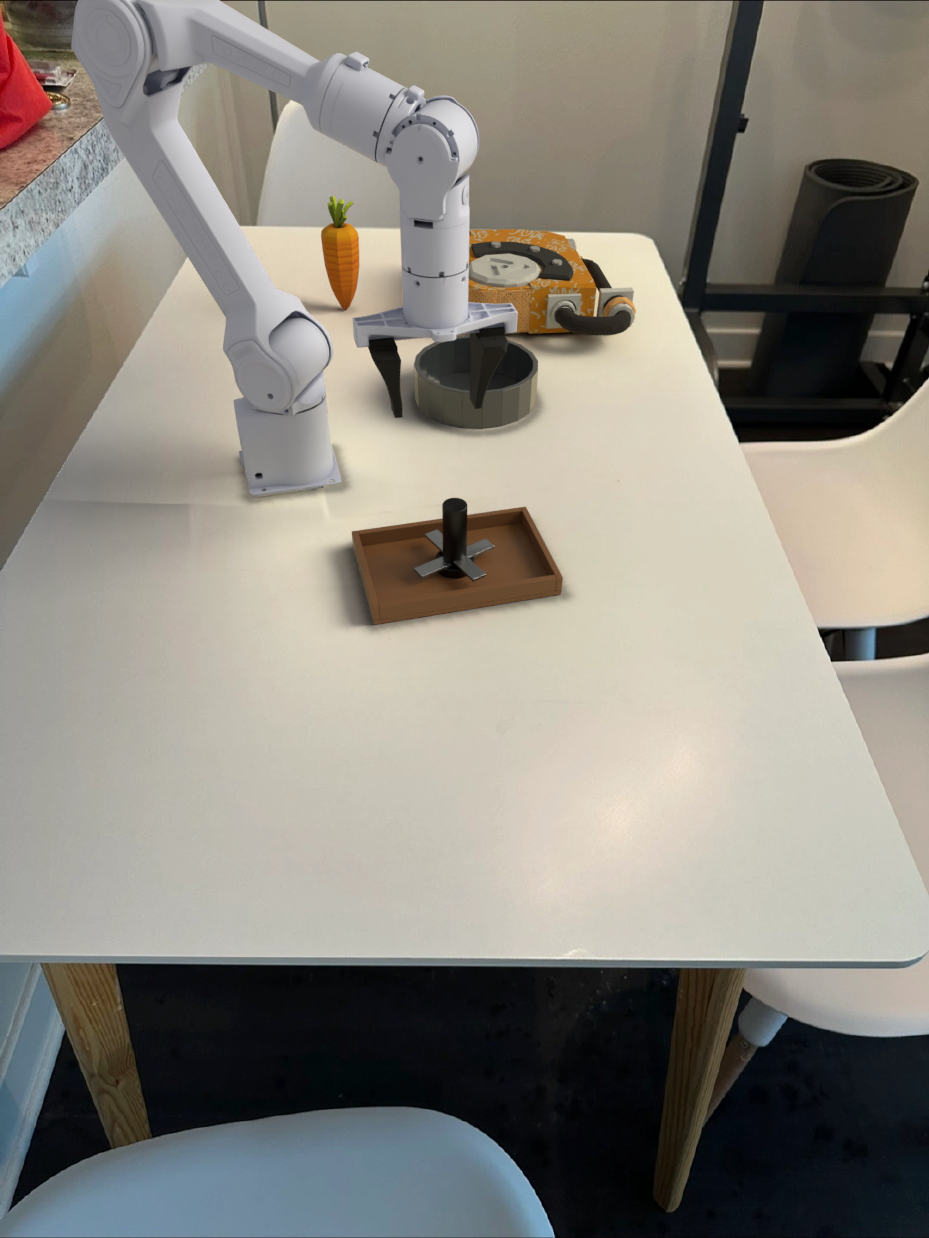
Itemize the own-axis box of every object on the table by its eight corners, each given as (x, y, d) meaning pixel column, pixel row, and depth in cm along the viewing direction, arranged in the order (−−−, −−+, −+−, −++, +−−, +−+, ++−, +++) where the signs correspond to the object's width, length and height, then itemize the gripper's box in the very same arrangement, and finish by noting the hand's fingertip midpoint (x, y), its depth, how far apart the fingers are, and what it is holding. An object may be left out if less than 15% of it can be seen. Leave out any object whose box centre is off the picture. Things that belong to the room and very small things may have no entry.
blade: (421, 600, 81) (420, 537, 76) (403, 547, 87) (401, 485, 82) (508, 587, 82) (511, 524, 78) (484, 535, 88) (486, 474, 83)
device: (594, 212, 133) (649, 295, 111) (588, 268, 139) (640, 359, 117) (439, 216, 131) (465, 303, 109) (440, 274, 136) (464, 367, 114)
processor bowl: (430, 440, 102) (429, 399, 98) (404, 380, 112) (403, 342, 109) (551, 424, 105) (554, 385, 101) (515, 368, 115) (517, 330, 111)
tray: (373, 625, 79) (372, 607, 78) (353, 547, 87) (351, 531, 86) (561, 594, 83) (563, 577, 81) (524, 522, 91) (525, 506, 89)
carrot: (330, 301, 129) (320, 189, 119) (365, 302, 129) (358, 190, 119) (325, 316, 125) (314, 202, 115) (361, 317, 125) (353, 203, 115)
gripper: (357, 291, 73) (367, 438, 82) (530, 276, 76) (522, 420, 85) (344, 258, 78) (355, 400, 87) (507, 245, 81) (501, 384, 90)
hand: (436, 408), depth 87 cm, fingers open, 7 cm apart
